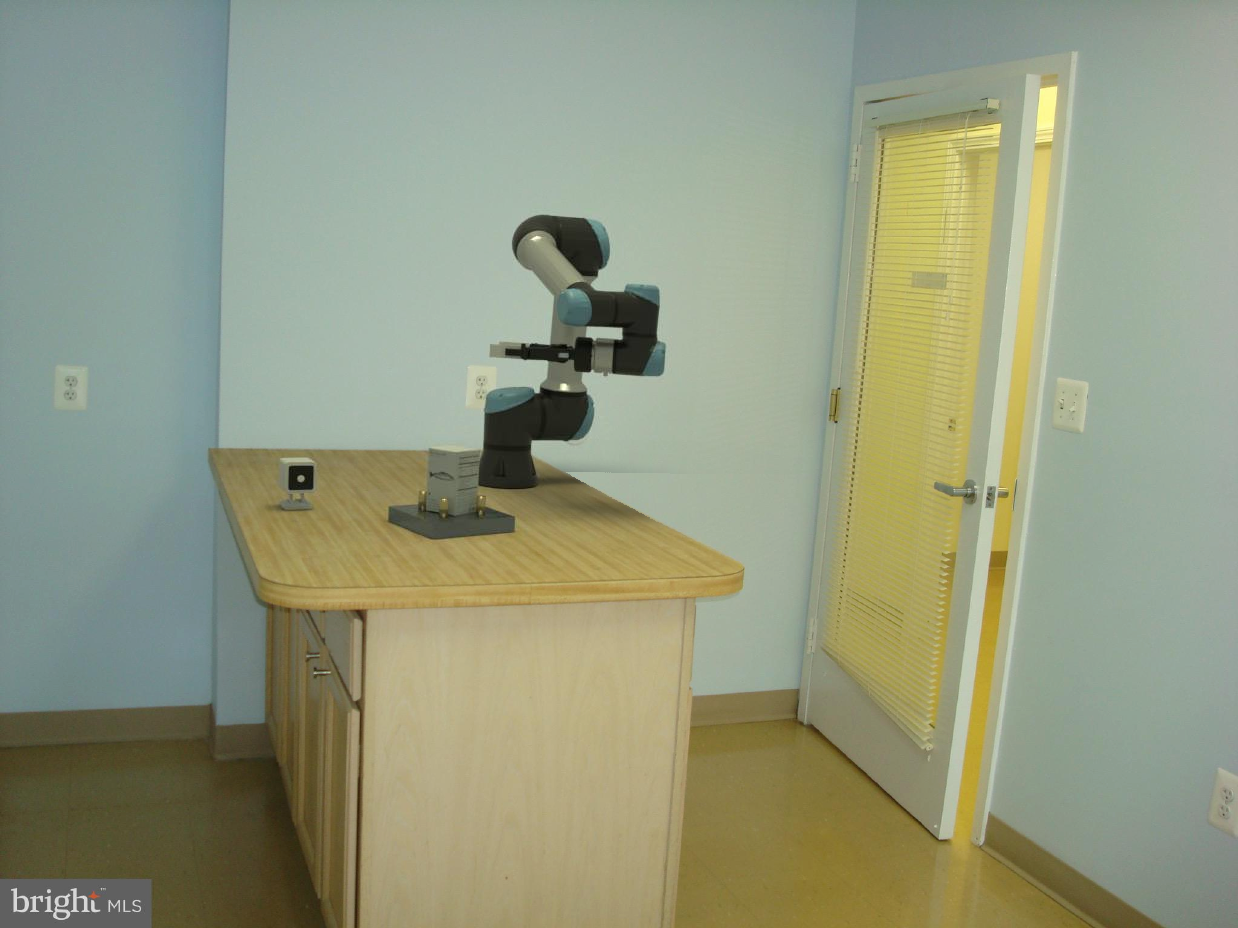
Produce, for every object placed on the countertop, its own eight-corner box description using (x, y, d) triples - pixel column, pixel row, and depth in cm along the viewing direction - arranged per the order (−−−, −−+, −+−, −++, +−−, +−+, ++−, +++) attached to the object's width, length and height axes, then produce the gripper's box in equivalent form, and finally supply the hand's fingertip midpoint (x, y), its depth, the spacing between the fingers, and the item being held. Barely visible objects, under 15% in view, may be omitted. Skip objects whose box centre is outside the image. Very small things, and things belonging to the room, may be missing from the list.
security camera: (284, 511, 232) (285, 462, 231) (277, 505, 238) (278, 457, 237) (316, 510, 235) (317, 461, 233) (308, 504, 241) (309, 456, 240)
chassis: (467, 514, 240) (468, 483, 239) (514, 531, 226) (516, 498, 225) (388, 521, 228) (389, 488, 228) (432, 539, 215) (433, 504, 214)
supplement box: (424, 511, 225) (427, 446, 223) (449, 506, 231) (451, 444, 230) (454, 516, 221) (456, 451, 220) (478, 511, 228) (481, 448, 226)
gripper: (588, 376, 236) (485, 370, 236) (595, 369, 260) (501, 363, 261) (590, 340, 235) (486, 333, 235) (597, 335, 259) (503, 329, 260)
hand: (494, 349), depth 248 cm, fingers open, 13 cm apart
